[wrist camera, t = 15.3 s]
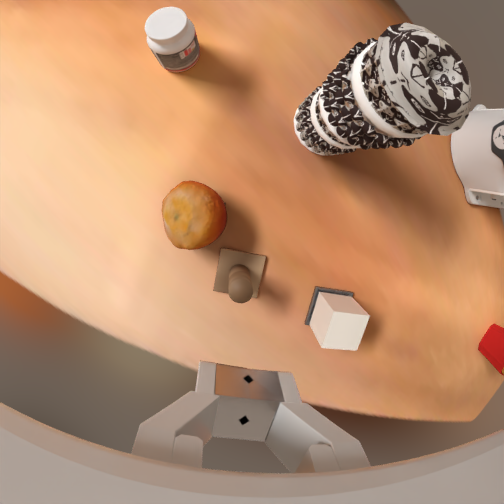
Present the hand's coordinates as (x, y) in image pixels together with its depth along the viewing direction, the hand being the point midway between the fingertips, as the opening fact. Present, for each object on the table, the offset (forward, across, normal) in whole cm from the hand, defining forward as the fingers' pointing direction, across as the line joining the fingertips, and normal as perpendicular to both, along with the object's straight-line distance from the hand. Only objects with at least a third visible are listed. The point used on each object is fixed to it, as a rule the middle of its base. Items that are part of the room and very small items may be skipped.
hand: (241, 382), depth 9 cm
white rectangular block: (+30, -16, +9) cm, 35 cm away
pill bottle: (+31, +12, -22) cm, 40 cm away
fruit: (+31, +5, -1) cm, 32 cm away
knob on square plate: (+31, -2, +6) cm, 32 cm away
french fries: (+31, -59, +12) cm, 68 cm away
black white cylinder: (+31, -9, -16) cm, 36 cm away
